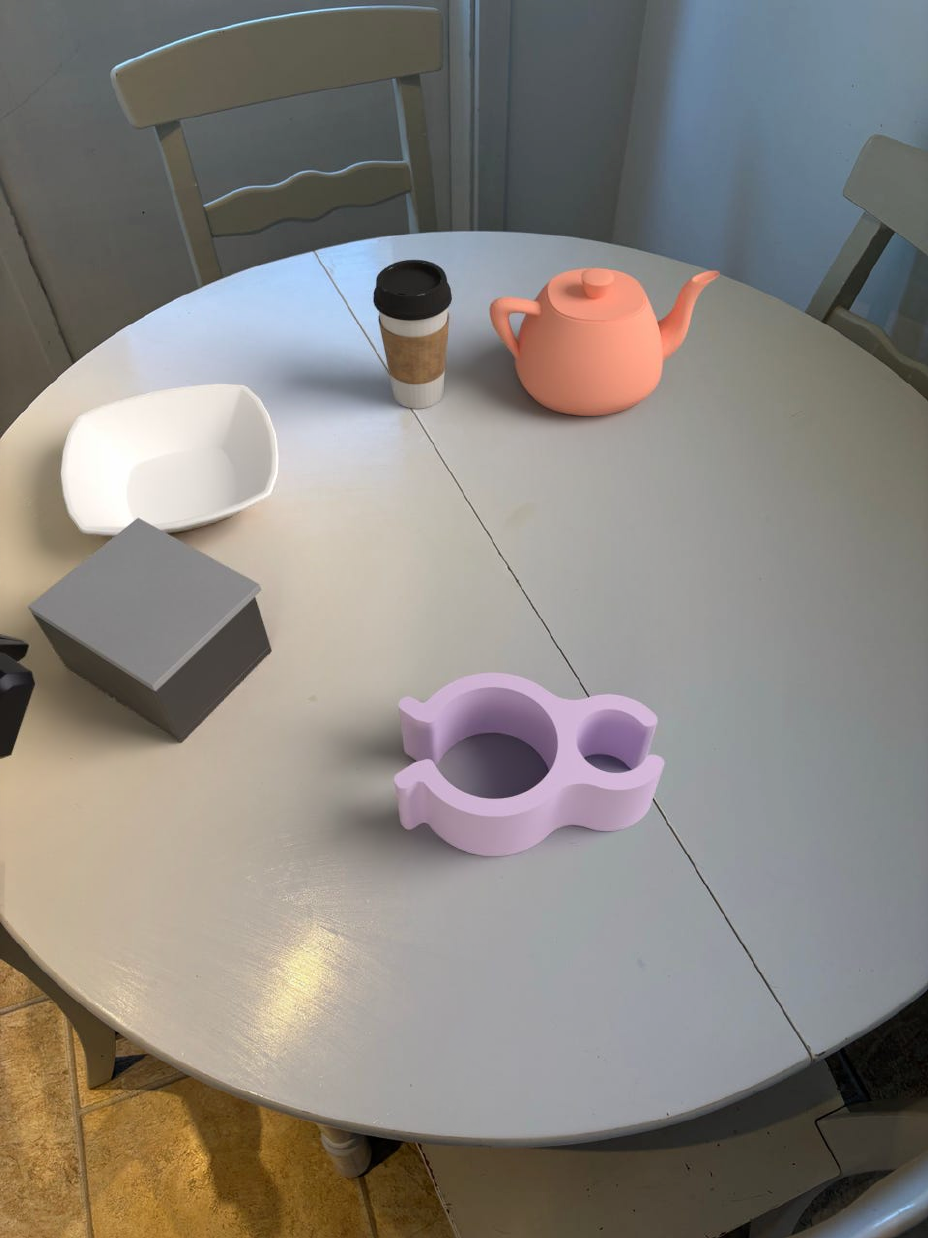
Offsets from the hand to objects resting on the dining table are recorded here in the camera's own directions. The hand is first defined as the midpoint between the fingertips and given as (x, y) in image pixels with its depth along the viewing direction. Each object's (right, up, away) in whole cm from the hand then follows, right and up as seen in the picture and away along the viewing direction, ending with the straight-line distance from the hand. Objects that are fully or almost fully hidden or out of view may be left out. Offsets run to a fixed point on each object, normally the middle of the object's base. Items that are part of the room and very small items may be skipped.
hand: (24, 648), depth 65 cm
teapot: (+48, +31, +40) cm, 70 cm away
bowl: (+3, +16, +29) cm, 33 cm away
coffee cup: (+27, +29, +39) cm, 55 cm away
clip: (+37, -11, +7) cm, 40 cm away
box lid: (+6, +4, +9) cm, 12 cm away
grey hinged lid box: (+6, -1, +15) cm, 16 cm away
